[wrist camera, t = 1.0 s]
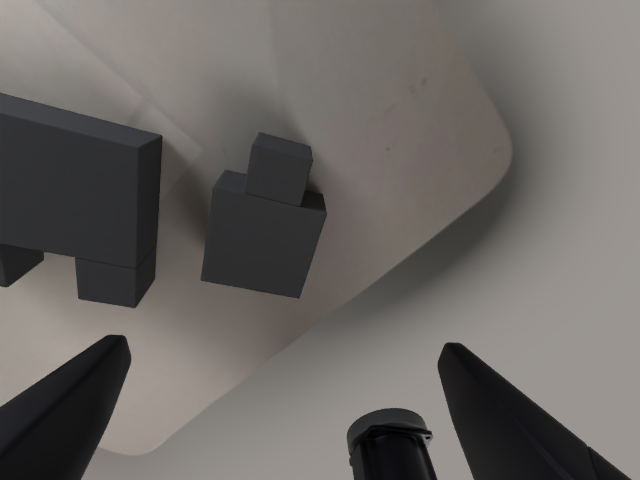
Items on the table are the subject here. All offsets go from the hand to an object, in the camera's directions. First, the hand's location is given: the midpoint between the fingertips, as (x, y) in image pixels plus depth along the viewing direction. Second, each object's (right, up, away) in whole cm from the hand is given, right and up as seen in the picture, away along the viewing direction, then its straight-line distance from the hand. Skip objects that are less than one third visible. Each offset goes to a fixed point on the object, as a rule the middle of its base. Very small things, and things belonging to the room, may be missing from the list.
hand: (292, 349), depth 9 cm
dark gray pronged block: (-14, +6, +10) cm, 18 cm away
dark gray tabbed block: (-2, +5, +11) cm, 12 cm away
